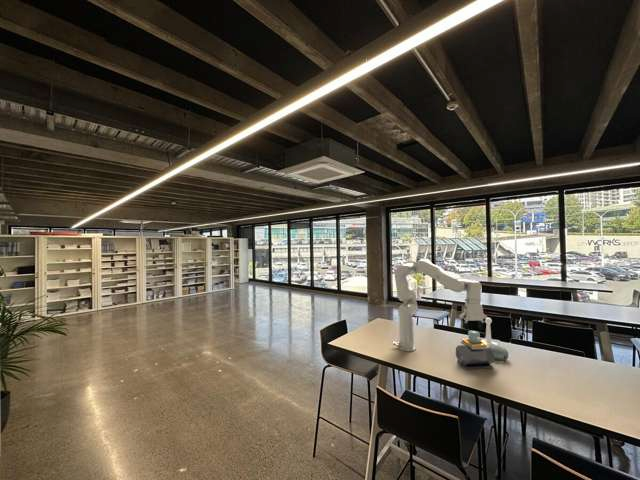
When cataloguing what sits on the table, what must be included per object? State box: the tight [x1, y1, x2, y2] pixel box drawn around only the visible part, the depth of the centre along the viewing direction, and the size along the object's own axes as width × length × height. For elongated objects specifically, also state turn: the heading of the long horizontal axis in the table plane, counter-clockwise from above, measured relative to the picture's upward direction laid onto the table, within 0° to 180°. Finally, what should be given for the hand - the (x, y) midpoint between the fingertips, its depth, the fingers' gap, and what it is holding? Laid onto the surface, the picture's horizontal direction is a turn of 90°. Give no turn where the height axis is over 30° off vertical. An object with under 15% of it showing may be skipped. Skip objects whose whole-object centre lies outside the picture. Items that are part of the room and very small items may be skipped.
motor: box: [455, 338, 495, 371], centre depth 160 cm, size 19×11×14 cm, turn 95°
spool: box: [488, 345, 509, 361], centre depth 170 cm, size 14×10×10 cm
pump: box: [467, 330, 483, 344], centre depth 159 cm, size 6×9×7 cm
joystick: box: [482, 317, 499, 346], centre depth 192 cm, size 11×8×20 cm
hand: (472, 329), depth 161 cm, fingers open, 9 cm apart
